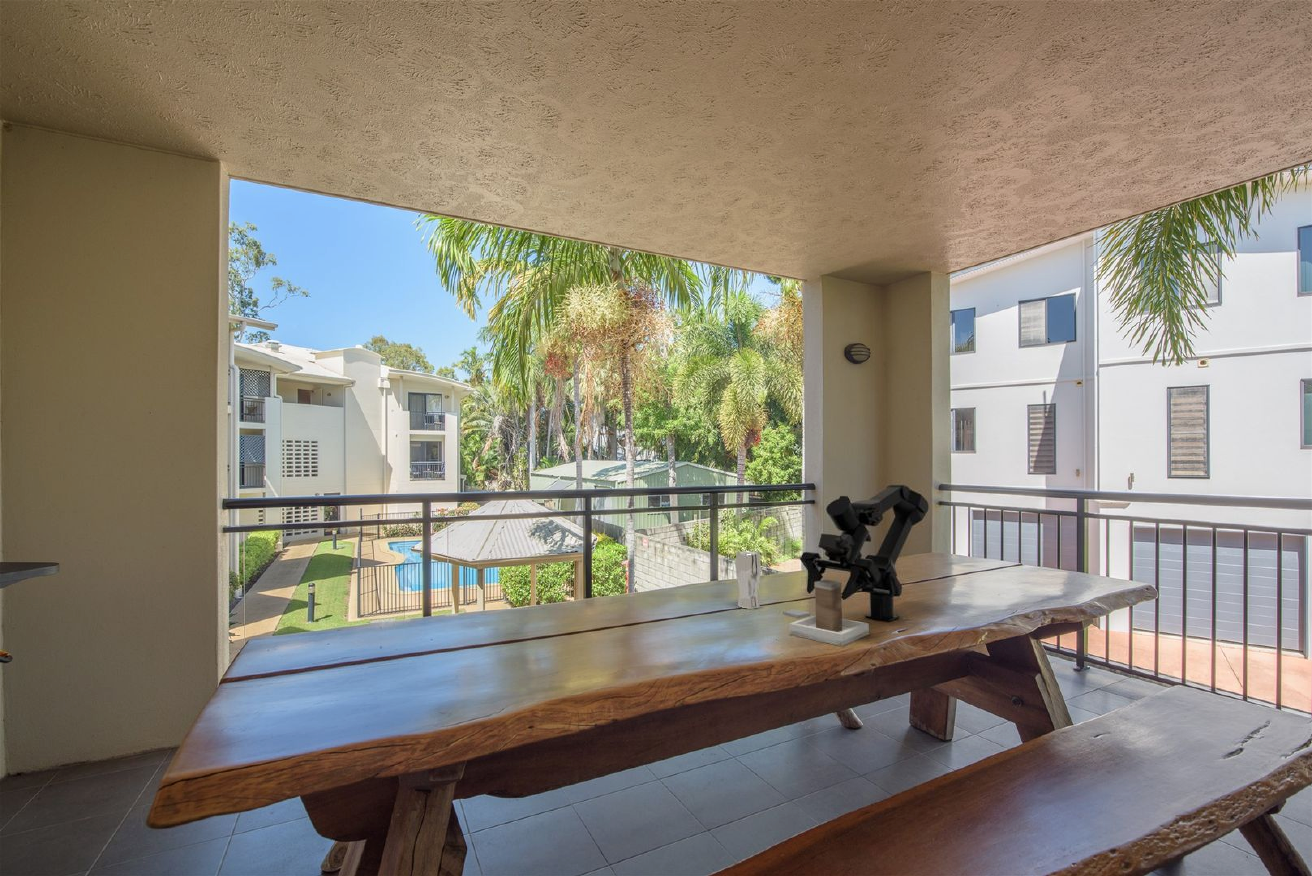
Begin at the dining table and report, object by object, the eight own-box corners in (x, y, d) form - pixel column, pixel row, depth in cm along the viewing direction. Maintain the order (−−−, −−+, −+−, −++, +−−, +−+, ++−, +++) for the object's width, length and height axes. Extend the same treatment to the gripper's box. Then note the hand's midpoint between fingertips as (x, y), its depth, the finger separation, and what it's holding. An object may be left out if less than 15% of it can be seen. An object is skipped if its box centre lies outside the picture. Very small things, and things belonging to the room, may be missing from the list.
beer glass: (760, 604, 164) (759, 551, 165) (762, 609, 157) (761, 554, 158) (735, 603, 165) (735, 551, 166) (736, 609, 158) (736, 554, 159)
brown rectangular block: (826, 626, 136) (825, 579, 137) (842, 630, 132) (841, 582, 133) (815, 629, 133) (814, 581, 134) (832, 633, 130) (831, 584, 130)
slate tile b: (795, 612, 155) (795, 609, 155) (810, 615, 151) (810, 612, 151) (783, 614, 152) (782, 611, 152) (797, 618, 148) (797, 615, 148)
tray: (817, 624, 142) (817, 613, 142) (868, 634, 133) (868, 623, 133) (789, 634, 133) (789, 623, 133) (841, 646, 124) (841, 634, 124)
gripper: (803, 519, 144) (776, 568, 136) (872, 524, 130) (847, 579, 122) (822, 548, 149) (797, 597, 141) (891, 555, 134) (867, 610, 127)
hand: (825, 595), depth 132 cm, fingers open, 9 cm apart
